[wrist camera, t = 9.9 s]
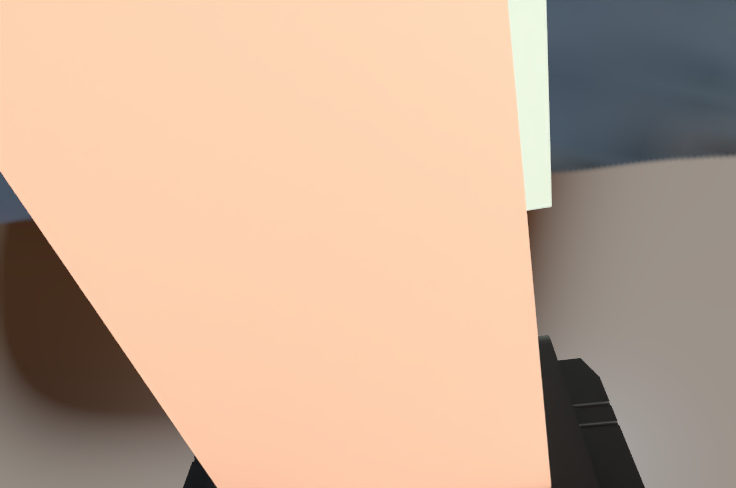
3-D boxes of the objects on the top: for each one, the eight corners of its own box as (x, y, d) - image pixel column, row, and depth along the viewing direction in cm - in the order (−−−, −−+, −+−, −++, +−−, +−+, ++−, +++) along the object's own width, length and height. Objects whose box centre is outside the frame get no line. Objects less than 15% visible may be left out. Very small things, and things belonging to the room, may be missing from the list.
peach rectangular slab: (45, -182, 7) (-288, -247, 4) (426, -317, 6) (456, -570, 3) (324, 436, 14) (300, 609, 10) (519, 415, 13) (561, 596, 10)
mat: (143, -175, 17) (135, -177, 16) (533, -293, 15) (537, -299, 14) (290, 240, 25) (288, 246, 25) (548, 199, 23) (551, 206, 23)
